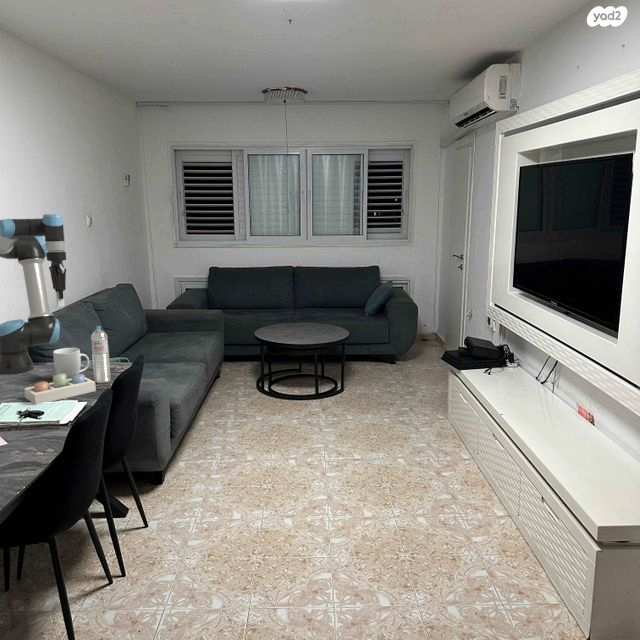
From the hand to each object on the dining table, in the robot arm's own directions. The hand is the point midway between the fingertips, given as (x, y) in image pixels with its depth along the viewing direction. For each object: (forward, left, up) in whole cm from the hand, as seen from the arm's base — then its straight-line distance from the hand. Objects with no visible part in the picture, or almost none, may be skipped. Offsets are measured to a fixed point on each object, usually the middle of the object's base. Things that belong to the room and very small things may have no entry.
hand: (60, 306), depth 248 cm
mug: (-5, +4, -34) cm, 35 cm away
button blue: (+15, -1, -33) cm, 36 cm away
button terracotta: (+15, -16, -33) cm, 39 cm away
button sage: (+15, -9, -31) cm, 35 cm away
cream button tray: (+15, -9, -34) cm, 38 cm away
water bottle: (+10, +11, -34) cm, 38 cm away
